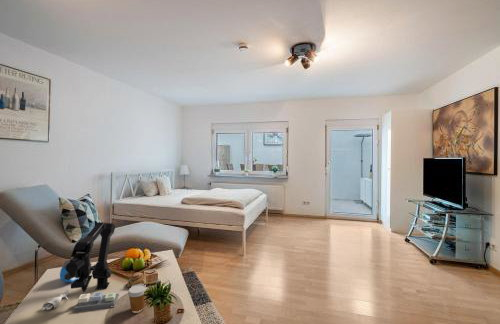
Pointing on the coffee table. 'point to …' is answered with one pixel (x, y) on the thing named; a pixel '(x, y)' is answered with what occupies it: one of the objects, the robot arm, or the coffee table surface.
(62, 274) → the alarm clock
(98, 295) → the key blue
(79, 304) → the keypad
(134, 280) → the pastry
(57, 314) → the coffee table surface
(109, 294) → the key sage
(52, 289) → the coffee table surface
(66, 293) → the woman figurine
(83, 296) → the key ivory
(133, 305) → the disposable coffee cup
